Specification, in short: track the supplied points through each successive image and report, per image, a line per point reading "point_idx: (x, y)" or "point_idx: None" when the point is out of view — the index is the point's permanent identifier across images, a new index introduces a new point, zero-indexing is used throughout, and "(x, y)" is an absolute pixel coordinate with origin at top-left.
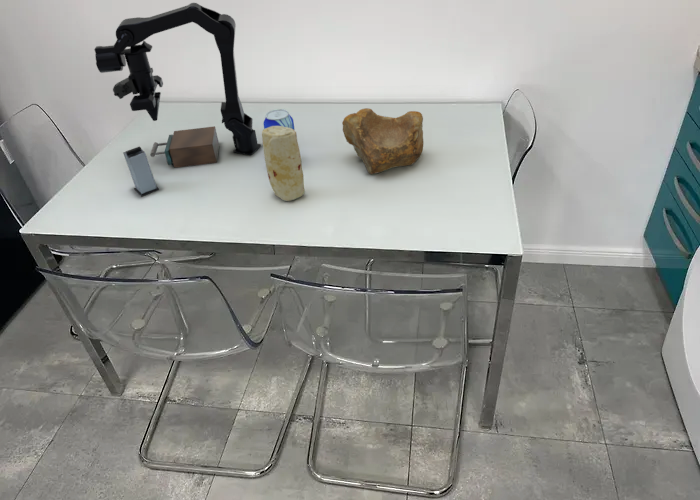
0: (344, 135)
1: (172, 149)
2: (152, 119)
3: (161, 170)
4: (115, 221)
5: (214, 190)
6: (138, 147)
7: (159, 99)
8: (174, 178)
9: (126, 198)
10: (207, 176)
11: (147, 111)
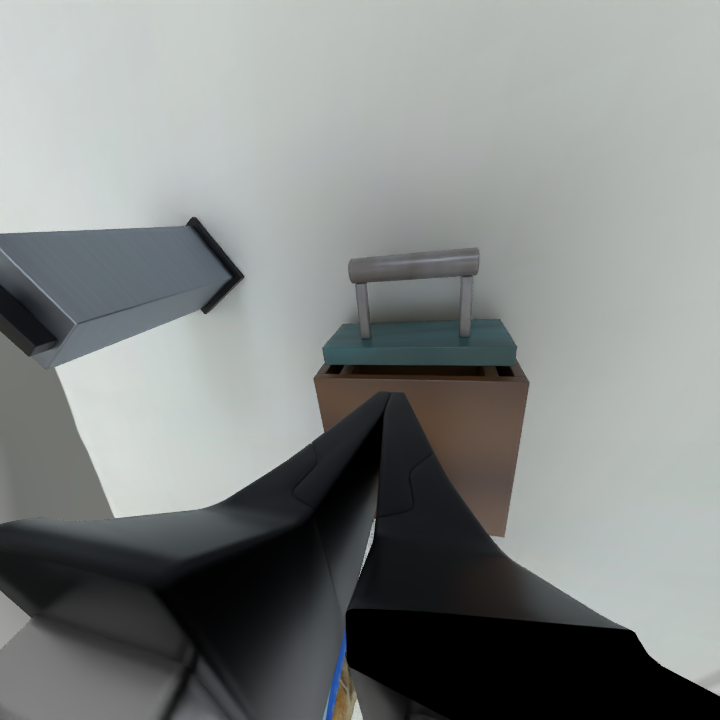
0: (337, 697)
1: (317, 389)
2: (371, 397)
3: (326, 294)
4: (38, 211)
5: (224, 447)
6: (22, 344)
7: (426, 703)
8: (273, 349)
9: (143, 204)
10: (285, 434)
11: (304, 452)
